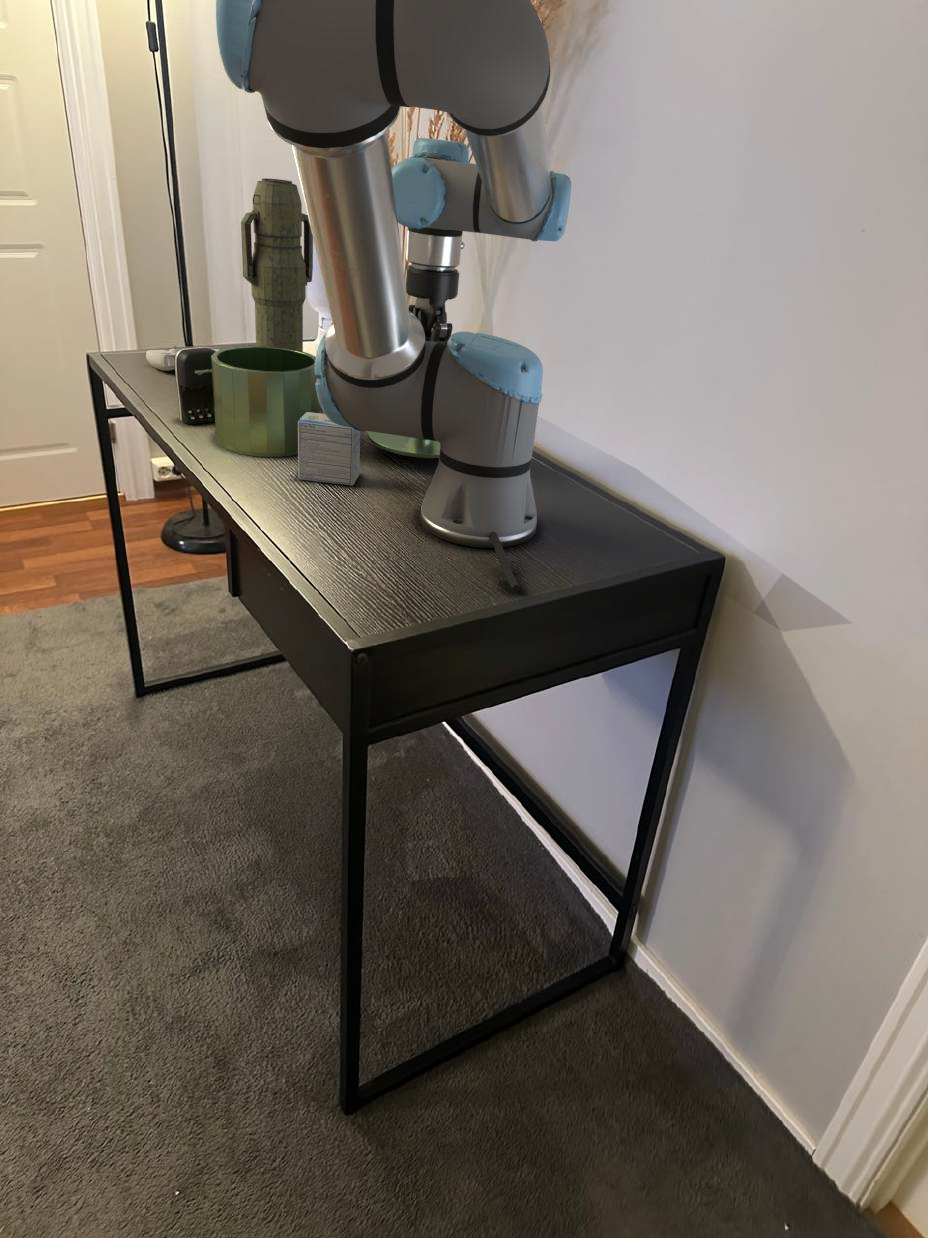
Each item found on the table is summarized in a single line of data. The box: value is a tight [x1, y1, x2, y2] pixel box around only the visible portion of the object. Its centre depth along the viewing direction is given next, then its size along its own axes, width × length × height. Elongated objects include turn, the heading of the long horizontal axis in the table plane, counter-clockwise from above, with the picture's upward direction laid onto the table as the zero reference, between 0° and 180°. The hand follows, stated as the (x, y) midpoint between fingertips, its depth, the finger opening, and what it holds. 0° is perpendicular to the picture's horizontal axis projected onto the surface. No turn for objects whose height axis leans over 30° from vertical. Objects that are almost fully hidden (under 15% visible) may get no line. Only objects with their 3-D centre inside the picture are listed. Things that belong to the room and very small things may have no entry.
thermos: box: [240, 178, 314, 352], centre depth 139 cm, size 9×12×35 cm
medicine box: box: [297, 412, 361, 487], centre depth 116 cm, size 8×4×9 cm, turn 84°
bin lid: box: [367, 431, 440, 459], centre depth 127 cm, size 17×17×9 cm
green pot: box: [211, 345, 321, 458], centre depth 127 cm, size 16×16×12 cm
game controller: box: [145, 345, 221, 372], centre depth 159 cm, size 14×4×10 cm
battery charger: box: [174, 346, 216, 425], centre depth 131 cm, size 7×4×11 cm, turn 131°
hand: (421, 428), depth 128 cm, fingers closed on bin lid, 4 cm apart
